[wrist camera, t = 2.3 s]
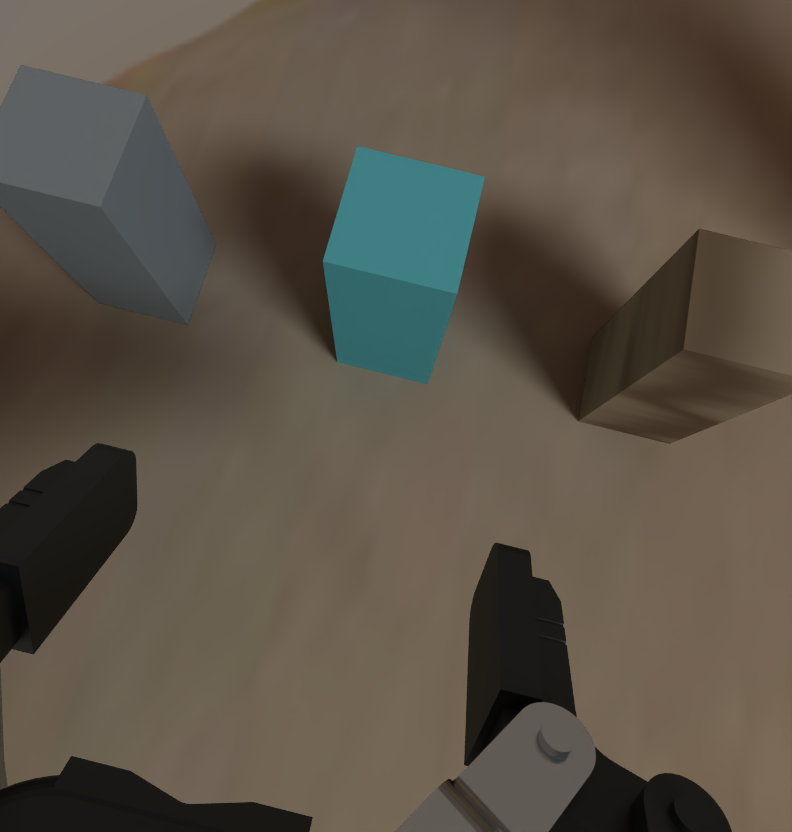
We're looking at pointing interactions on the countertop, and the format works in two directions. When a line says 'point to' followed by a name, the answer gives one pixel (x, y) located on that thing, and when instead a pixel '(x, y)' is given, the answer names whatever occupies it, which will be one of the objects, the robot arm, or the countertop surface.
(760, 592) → the countertop surface
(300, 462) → the countertop surface
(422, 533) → the countertop surface
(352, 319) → the teal block
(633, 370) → the walnut block
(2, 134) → the charcoal block
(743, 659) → the countertop surface
